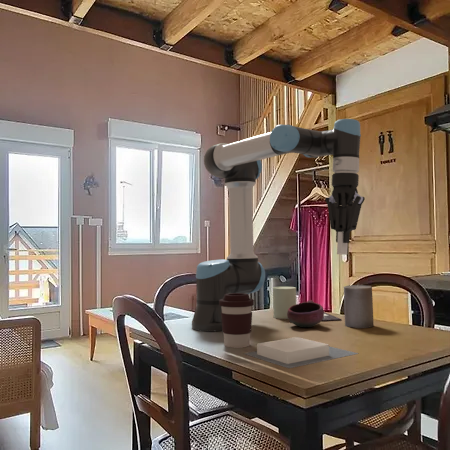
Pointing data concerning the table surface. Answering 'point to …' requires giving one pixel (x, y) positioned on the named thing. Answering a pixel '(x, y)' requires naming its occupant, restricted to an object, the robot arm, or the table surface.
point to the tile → (292, 350)
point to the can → (283, 301)
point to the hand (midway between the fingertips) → (342, 254)
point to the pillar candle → (358, 306)
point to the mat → (333, 354)
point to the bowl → (306, 314)
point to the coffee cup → (236, 319)
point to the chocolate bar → (330, 318)
